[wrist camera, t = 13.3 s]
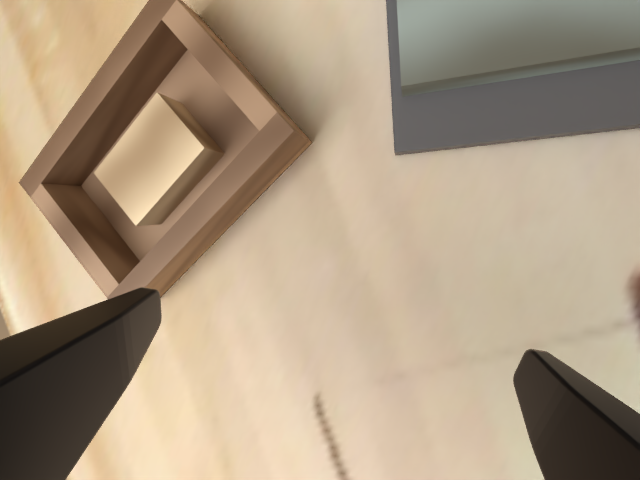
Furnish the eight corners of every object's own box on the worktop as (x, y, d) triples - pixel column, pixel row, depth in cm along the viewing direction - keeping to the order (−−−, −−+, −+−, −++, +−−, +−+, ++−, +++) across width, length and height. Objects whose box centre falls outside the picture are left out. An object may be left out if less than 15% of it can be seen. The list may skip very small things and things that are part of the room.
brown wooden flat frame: (312, 142, 19) (293, 130, 16) (157, 300, 22) (119, 314, 19) (198, 15, 20) (161, -18, 17) (67, 185, 23) (18, 182, 20)
